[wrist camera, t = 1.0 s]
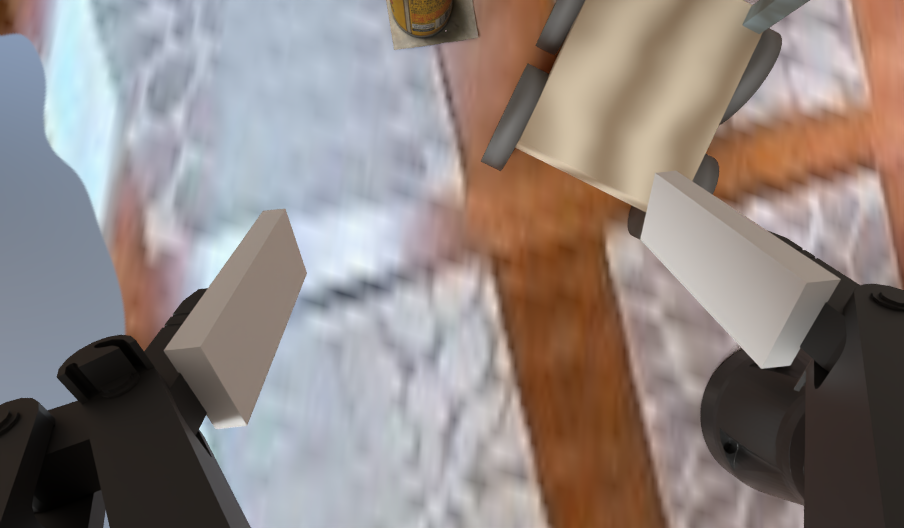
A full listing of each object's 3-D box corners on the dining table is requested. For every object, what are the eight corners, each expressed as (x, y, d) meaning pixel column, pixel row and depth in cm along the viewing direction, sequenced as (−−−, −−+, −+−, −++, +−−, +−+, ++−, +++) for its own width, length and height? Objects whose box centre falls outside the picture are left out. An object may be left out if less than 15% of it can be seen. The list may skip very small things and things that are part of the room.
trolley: (720, 63, 41) (1074, -173, 18) (632, 247, 41) (878, 238, 18) (565, -18, 40) (737, -373, 17) (476, 170, 40) (532, 61, 18)
